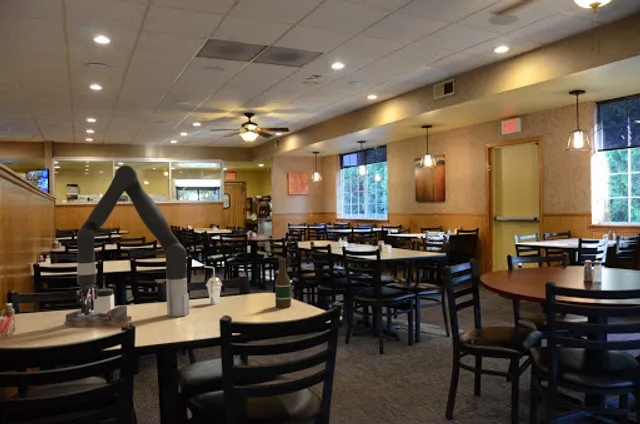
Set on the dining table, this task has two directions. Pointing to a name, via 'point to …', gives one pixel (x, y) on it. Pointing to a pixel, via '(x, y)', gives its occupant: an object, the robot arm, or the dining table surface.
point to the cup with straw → (214, 288)
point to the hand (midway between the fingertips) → (87, 311)
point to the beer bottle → (282, 286)
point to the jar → (104, 301)
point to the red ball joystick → (89, 310)
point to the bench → (99, 319)
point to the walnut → (109, 314)
